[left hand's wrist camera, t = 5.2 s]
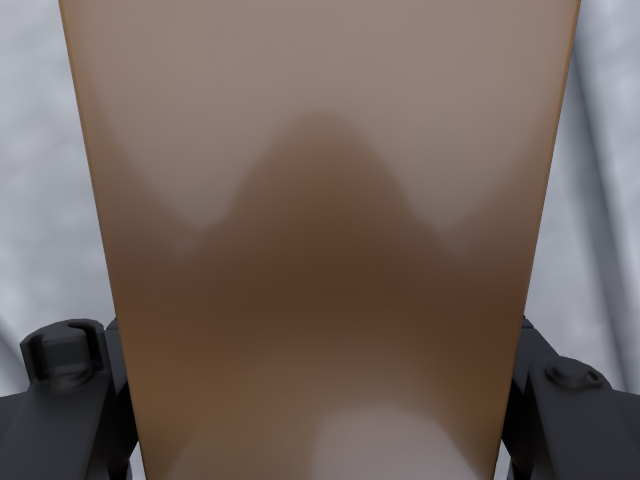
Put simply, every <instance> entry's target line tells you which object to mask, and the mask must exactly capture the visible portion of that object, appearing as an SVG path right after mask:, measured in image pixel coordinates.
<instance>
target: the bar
mask: <svg viewBox="0 0 640 480" xmlns="http://www.w3.org/2000/svg"><path fill="white" fill-rule="evenodd" d="M58 1H59V7H60V12H61V18H62V23H63V29H64V34H65V39H66V45H67V50H68V56H69V61H70V67H71V72H72V78H73V83H74V89H75V94H76V100H77V105H78V111H79V116H80V122H81V127H82V132H83V138H84V143H85V149H86V154H87V160H88V165H89V171H90V176H91V182H92V187H93V193H94V198H95V204H96V209H97V215H98V220H99V225H100V231H101V236H102V242H103V247H104V253H105V258H106V264H107V269H108V275H109V280H110V286H111V291H112V297H113V302H114V308H115V313H116V318H117V324H118V329H119V335H120V340H121V346H122V351H123V357H124V362H125V368H126V373H127V379H128V384H129V390H130V395H131V401H132V406H133V411H134V417H135V422H136V428H137V433H138V439H139V444H140V450H141V455H142V461H143V466H144V472H145V477H146V480H493V479H494V474H495V468H496V463H497V457H498V452H499V447H500V441H501V436H502V430H503V425H504V419H505V414H506V408H507V403H508V397H509V392H510V386H511V381H512V375H513V370H514V364H515V359H516V353H517V348H518V342H519V337H520V331H521V326H522V321H523V315H524V310H525V304H526V299H527V293H528V288H529V282H530V277H531V271H532V266H533V260H534V255H535V249H536V244H537V238H538V233H539V227H540V222H541V216H542V211H543V205H544V200H545V195H546V189H547V184H548V178H549V173H550V167H551V162H552V156H553V151H554V145H555V140H556V134H557V129H558V123H559V118H560V112H561V107H562V101H563V96H564V90H565V85H566V79H567V74H568V69H569V63H570V58H571V52H572V47H573V41H574V36H575V30H576V25H577V19H578V14H579V8H580V3H581V0H58Z"/></svg>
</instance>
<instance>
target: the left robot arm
mask: <svg viewBox="0 0 640 480" xmlns="http://www.w3.org/2000/svg"><path fill="white" fill-rule="evenodd" d="M20 348H21V352H22V355H23V359H24V362H25V366H26V370H27V373H28V377H29V380H30V386H29V388H28V390H27V392H23V393H19V394H14V395H9V396H4V397H0V480H132V471H131V465H130V460H129V458H130V456H131V454H132V452H133V450H134V448H135V446H136V444H137V442H138V440H139V439H138V433H137V428H136V422H135V417H134V411H133V406H132V401H131V395H130V390H129V384H128V379H127V373H126V368H125V362H124V357H123V351H122V346H121V340H120V335H119V329H118V324H117V318H116V317H115V320H114V321H112V322H111V323H110V324H109V325H108V327H107V328H106V330H104V328H103V325H102V324H100V323H99V322H98V321H95V320H90V319H70V320H66V321H61V322H56V323H53V324H50V325H48V326H45V327H42V328H40V329H38V330H36V331H35V332H33V333H31V334H30V335H28V336H27V337H26V338H25V339H24V340H23V341H22V342H21V343H20ZM501 439H502V441H503V443H504V445H505V447H506V449H507V451H508V452H509V454H510V456H511V460H510V465H509V470H508V475H507V480H640V395H636V394H631V393H626V392H621V391H617V390H613V389H612V387H611V385H610V383H609V382H608V381H607V379H606V378H605V377H604V376H603V375H602V374H601V373H600V372H598V371H597V370H595V369H594V368H592V367H591V366H589V365H587V364H585V363H582V362H580V361H578V360H575V359H571V358H567V357H563V356H559V355H558V354H557V353H556V351H555V350H554V349H553V348H552V347H551V346H550V344H549V343H548V342H547V341H546V340H545V339H544V338H543V336H542V335H541V334H540V333H539V332H538V331H537V330H536V329H534V326H533V325H532V324H531V323H530V322H529V320H528V319H526V318H525V316H524V315H523V321H522V326H521V331H520V337H519V342H518V348H517V353H516V359H515V364H514V370H513V375H512V381H511V386H510V392H509V397H508V403H507V408H506V414H505V419H504V425H503V430H502V436H501ZM500 443H501V441H500ZM139 445H140V444H139ZM499 449H500V447H499ZM498 454H499V452H498ZM141 456H142V455H141ZM497 460H498V457H497Z"/></svg>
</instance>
